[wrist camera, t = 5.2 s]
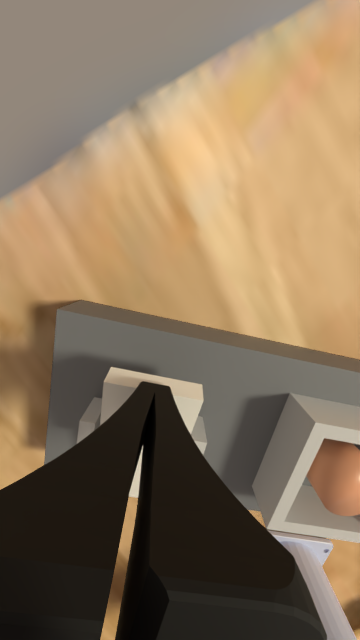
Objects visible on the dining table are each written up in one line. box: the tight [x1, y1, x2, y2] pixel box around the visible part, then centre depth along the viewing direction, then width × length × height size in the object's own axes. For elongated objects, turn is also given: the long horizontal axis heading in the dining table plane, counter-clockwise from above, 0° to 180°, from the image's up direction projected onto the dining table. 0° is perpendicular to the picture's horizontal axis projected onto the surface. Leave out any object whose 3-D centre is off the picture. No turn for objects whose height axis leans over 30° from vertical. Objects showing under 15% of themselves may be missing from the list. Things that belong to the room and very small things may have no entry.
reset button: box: [306, 438, 360, 516], centre depth 13 cm, size 4×4×2 cm
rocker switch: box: [100, 367, 204, 498], centre depth 12 cm, size 9×4×1 cm, turn 167°
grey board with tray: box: [44, 300, 360, 543], centre depth 14 cm, size 12×24×6 cm, turn 77°
